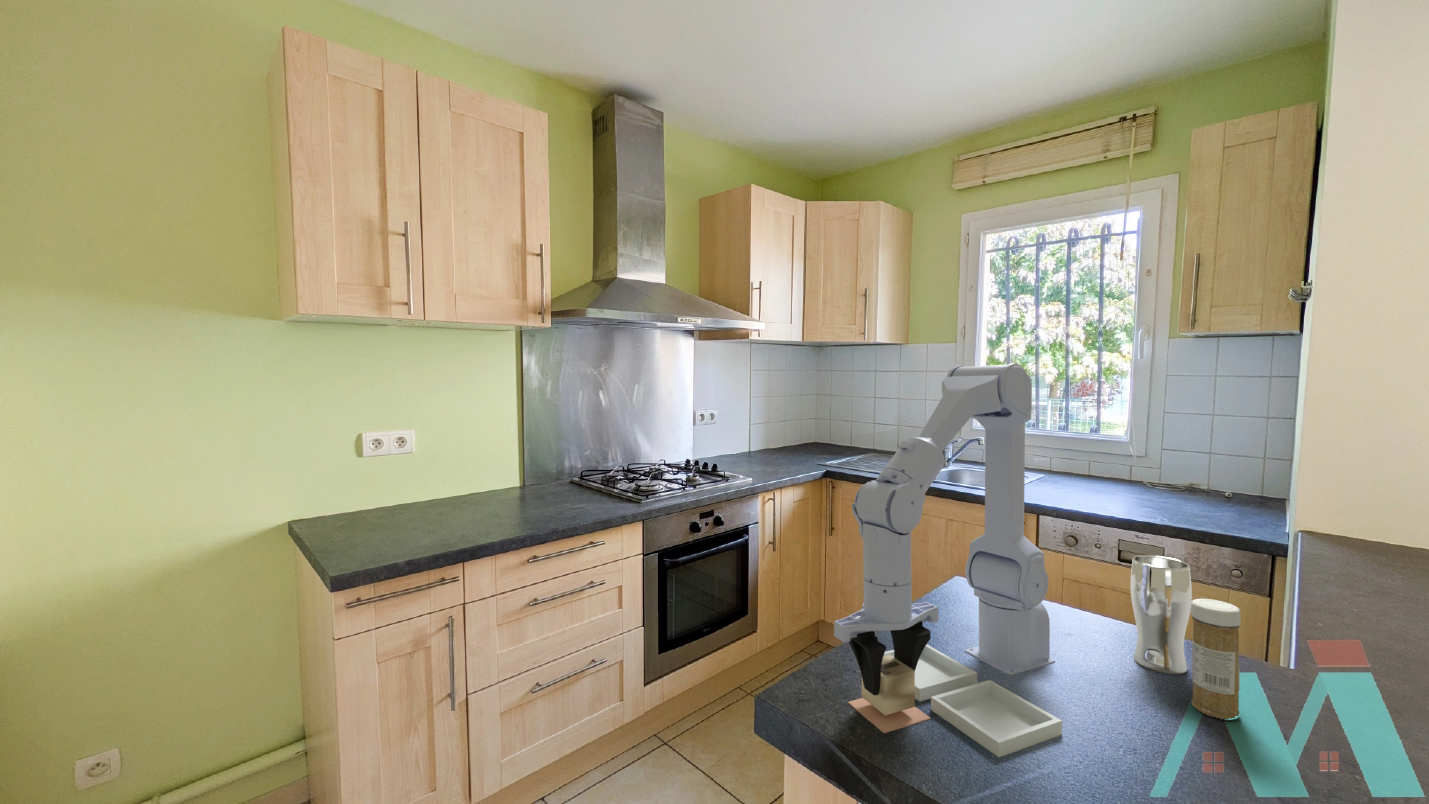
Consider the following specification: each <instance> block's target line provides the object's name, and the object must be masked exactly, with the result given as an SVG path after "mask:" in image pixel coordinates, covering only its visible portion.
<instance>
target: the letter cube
mask: <svg viewBox="0 0 1429 804" xmlns="http://www.w3.org/2000/svg"><path fill="white" fill-rule="evenodd" d="M861 698H864V699H865V700H866V701H868V702H869V703H870V704H871V705H873V706H874V707H875V708H876V709H878V710H879V711H880V712H881V713H883V714H884V715H889V714H892V713H896V712H899V711H902V710H906V709H909V708H913V707H916V704H915V701H916V699H915V671H914V670H913V669H911V668H910V667H908V666H906V665H905V664H903V663H902V662H900V661H899V660H897V659H896V658H894V657H892V656H891V655H887V656H883V660H882V665H881V682H880V690H879V695H873V694H871V693H870V692H869V691H868V690H866V689H865V688H864V683H863V679H862V678H861Z"/></svg>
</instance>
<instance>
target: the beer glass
mask: <svg viewBox="0 0 1429 804" xmlns="http://www.w3.org/2000/svg"><path fill="white" fill-rule="evenodd" d="M1131 559H1132V561H1131V562H1132V563H1131V568H1130V569H1131V571H1130V584H1129V585H1130V599H1131V605H1132V606H1131V607H1132V610H1133V616H1134V620H1135V625H1136V631H1137V635H1136V636H1137V640H1136V648H1135V649H1134V653H1133V659H1134V661H1135V662H1136V663H1137V664H1138V665H1140V666H1141V667H1144V668H1146V669H1148V670H1151V671H1154V672H1156V673H1157V672H1158V673H1162V674H1167V675H1168V674H1169V675H1181V674H1185V673H1187V672H1188V665H1187V661H1186V656H1185V650H1184V649H1185V648H1184V643H1185V636H1186V631H1187V627H1188V624H1189V619H1190V616H1191V602H1192V601H1193V593H1192V591H1193V590H1192V578H1191V565H1190V564H1189V563H1188V562H1185V561H1182V560H1181V559H1176V558H1173V557H1167V556H1161V555H1152V554H1140V555H1134V556H1132V558H1131Z"/></svg>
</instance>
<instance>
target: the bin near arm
mask: <svg viewBox="0 0 1429 804" xmlns="http://www.w3.org/2000/svg"><path fill="white" fill-rule="evenodd" d="M887 655H891V656H892V657H894V649H892V650H887V651H886V650H885V653H884V656H887ZM978 677H979V676H978V671H975V670H974V669H971V667H970V668H969V667H968V666H966V665H964V664H962V663H961V662H959V661H958V660H956V659H954V658H952V657H950V656H948V655H946V654H945V653H943V652H941V651H939V650H937V649H936V648H934V647H932V646H931V645H929V644H928V643H927V644H926V646H925V648H924V649H923V651H922V653H921V655H920V658H919V660H918V663H917V666H916V669H915V701H918V702H923V701H927V700H931V697H932V696H936V695H939V694H943V693H946V692H949V691H953V690H956V689H960V688H963V687H967V686H970V685H974V684H977V683H979V681H978Z"/></svg>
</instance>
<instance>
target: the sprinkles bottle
mask: <svg viewBox="0 0 1429 804" xmlns="http://www.w3.org/2000/svg"><path fill="white" fill-rule="evenodd" d="M1190 616H1192V617H1191V619H1192V641H1191V642H1192V645H1191V646H1192V653H1191V654H1192V656H1191V657H1192V658H1191V661H1192V663H1191V665H1192V666H1191V667H1192V669H1191V671H1192V672H1191V673H1192V675H1191V676H1192V677H1191V679H1192V699H1191V705H1192V707H1193V708H1194V709H1195V710H1197V711H1198V712H1200V713H1201V712H1202V714H1203V715H1205V714H1206V715H1205V716H1208V717H1210V716H1213V717H1217V718H1222V719H1229V718H1231V719H1232V718H1235V716H1238V715H1239V713H1240V711H1239V708H1240V707H1239V705H1240V704H1239V702H1240V700H1239V697H1240V696H1239V695H1240V694H1239V693H1240V683H1241V682H1240V681H1241V679H1240V676H1241V675H1240V659H1239V656H1240V655H1239V654H1240V652H1239V650H1240V649H1239V647H1240V645H1239V639H1240V638H1239V637H1240V636H1239V629H1240V625H1241V619H1242V618H1241V616H1242V615H1241V610H1240V608H1239V607H1237V606H1235V605H1234V604H1231V603H1229V602H1225V601H1221V600H1217V599H1211V598H1196V599H1192V602H1191V610H1190ZM1213 717H1212V718H1213ZM1217 718H1216V719H1217ZM1222 719H1221V720H1222Z"/></svg>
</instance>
